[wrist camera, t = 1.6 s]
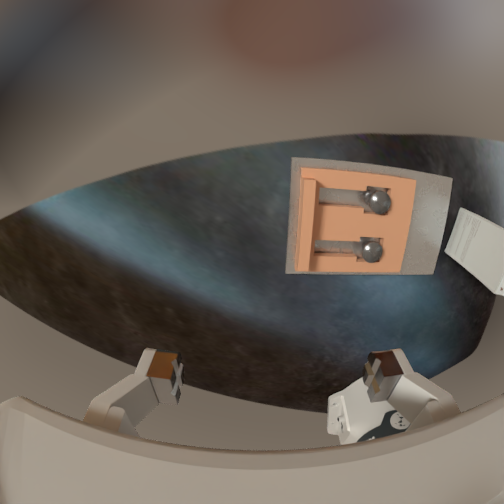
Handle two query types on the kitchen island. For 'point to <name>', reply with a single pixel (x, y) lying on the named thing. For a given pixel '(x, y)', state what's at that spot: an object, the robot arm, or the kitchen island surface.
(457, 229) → the supplement box
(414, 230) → the boss plate
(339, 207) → the panel
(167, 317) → the kitchen island surface
